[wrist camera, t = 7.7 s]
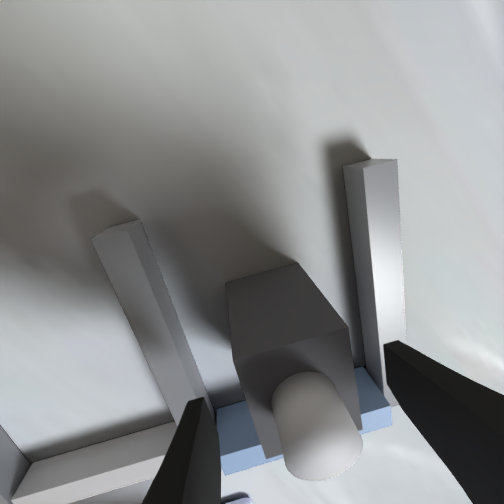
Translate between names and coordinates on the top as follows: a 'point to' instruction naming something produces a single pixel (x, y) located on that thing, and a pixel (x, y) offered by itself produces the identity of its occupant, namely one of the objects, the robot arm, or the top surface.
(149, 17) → the top surface
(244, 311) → the cord connector
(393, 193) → the cable duct
